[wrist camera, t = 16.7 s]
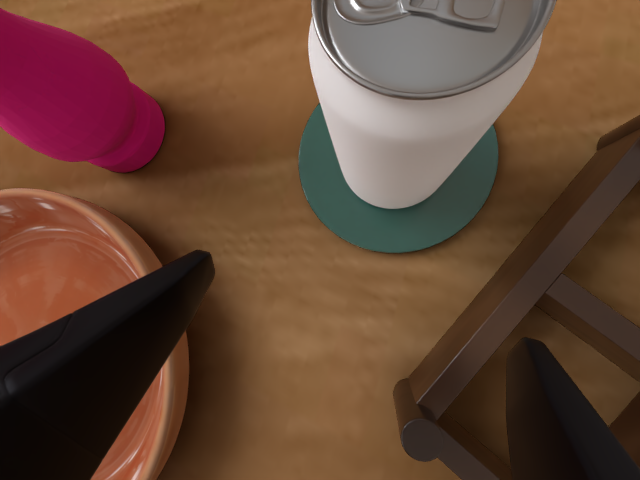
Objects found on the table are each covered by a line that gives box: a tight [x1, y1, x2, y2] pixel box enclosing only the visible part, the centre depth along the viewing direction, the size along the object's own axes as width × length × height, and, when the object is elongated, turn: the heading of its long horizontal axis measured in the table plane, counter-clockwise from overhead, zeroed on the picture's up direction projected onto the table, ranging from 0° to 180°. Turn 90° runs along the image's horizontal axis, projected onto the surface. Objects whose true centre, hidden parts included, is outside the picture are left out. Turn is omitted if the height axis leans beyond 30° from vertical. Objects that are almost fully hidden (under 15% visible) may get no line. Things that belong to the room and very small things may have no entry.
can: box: [308, 0, 556, 209], centre depth 13 cm, size 6×6×12 cm
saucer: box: [0, 188, 189, 480], centre depth 21 cm, size 23×23×4 cm
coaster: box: [299, 103, 498, 253], centre depth 19 cm, size 12×12×1 cm
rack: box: [393, 115, 640, 480], centre depth 15 cm, size 20×11×5 cm, turn 141°
